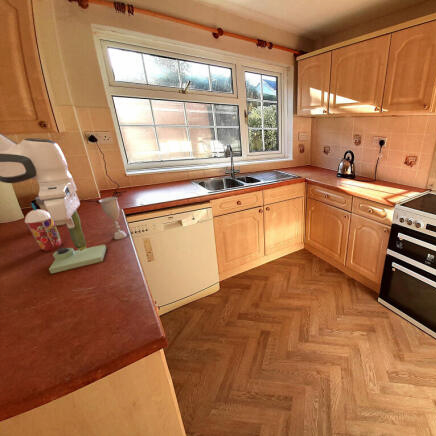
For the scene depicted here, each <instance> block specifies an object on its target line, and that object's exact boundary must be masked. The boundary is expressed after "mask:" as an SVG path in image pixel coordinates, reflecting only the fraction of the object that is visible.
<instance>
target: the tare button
mask: <svg viewBox="0 0 436 436" xmlns="http://www.w3.org/2000/svg"><path fill="white" fill-rule="evenodd" d="M68 248H69V247H67V246H63V247H59V248H57V249H56V252H58V254H63V253H66V252H68Z"/></svg>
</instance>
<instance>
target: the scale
mask: <svg viewBox="0 0 436 436" xmlns="http://www.w3.org/2000/svg"><path fill="white" fill-rule="evenodd" d="M67 248H68V252H66V253H63V254H58V252H57V251H55V252H54V253H52V257H53V258H54V260H53V262H52V263H51V265H50V266H49V268H48V271H49V272H50V274H55V273H60V272H63V271H67V270H72V269H76V268H79V267H84V266H88V265H92V264H96V263H100V262H103V261H104V258H105V254H106V250H107V247H106V244H105V243H104V244H99V245H95V246H89V247H86V248H85V249H84V250H82V251H80V250H79V249H77V250H74V248H73V247H67Z"/></svg>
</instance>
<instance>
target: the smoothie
mask: <svg viewBox="0 0 436 436" xmlns="http://www.w3.org/2000/svg"><path fill="white" fill-rule="evenodd" d="M30 205H31V207H32V210H31V211H29V212H28V213H27V214H26V215H25V219H24V223H25V225H26V226H27V228H28V229H29V230H28V231H30V233H31V235H32V236H33V238H34V240H35V242H36V243H37V245H38V247H39V248H40V249H42V250H43V251H47V252H48V251H52V250H57V249H59V248H61V247H62V243H63V242H62V239H61V236H60V233H59V231H58V228H57V225H56V224H55V221H54V220H53V219H52V218H51V216H50V214H49V212H47V211H45V210H40V208H39V209H37V208H36V205H35V204H34V203H32V202H31V204H30Z"/></svg>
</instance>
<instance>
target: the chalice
mask: <svg viewBox="0 0 436 436" xmlns="http://www.w3.org/2000/svg"><path fill="white" fill-rule="evenodd" d="M98 203H99V204H100V206H101V209H102V211H103V213H104V215H106V216H107V218H109V219H110V220H111V221H112V220H113V222H114V223H113V224H114V225H115V227H114V228H115V229H116V232H115V233H114V237H113V238H114V239H115V240H121V239H124V238H126V237H127V233H126V232H125V231H123V230H120V229H121V228H120V227H121V226H120V225H119V222H118V219H119V216H120V205H119V203H118V197H116V196H111V197H110V196H109V197H104V198H101V199H99V200H98Z"/></svg>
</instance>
